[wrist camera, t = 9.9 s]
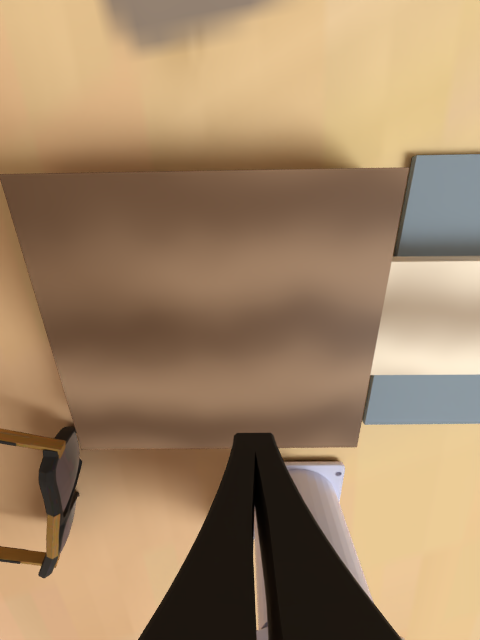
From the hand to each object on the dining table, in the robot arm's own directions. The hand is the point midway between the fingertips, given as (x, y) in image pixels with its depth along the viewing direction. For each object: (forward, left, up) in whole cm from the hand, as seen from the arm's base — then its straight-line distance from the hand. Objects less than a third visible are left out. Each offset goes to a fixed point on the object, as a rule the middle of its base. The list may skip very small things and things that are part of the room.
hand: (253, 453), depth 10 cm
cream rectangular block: (+2, -12, -9) cm, 16 cm away
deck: (+2, +2, -9) cm, 10 cm away
